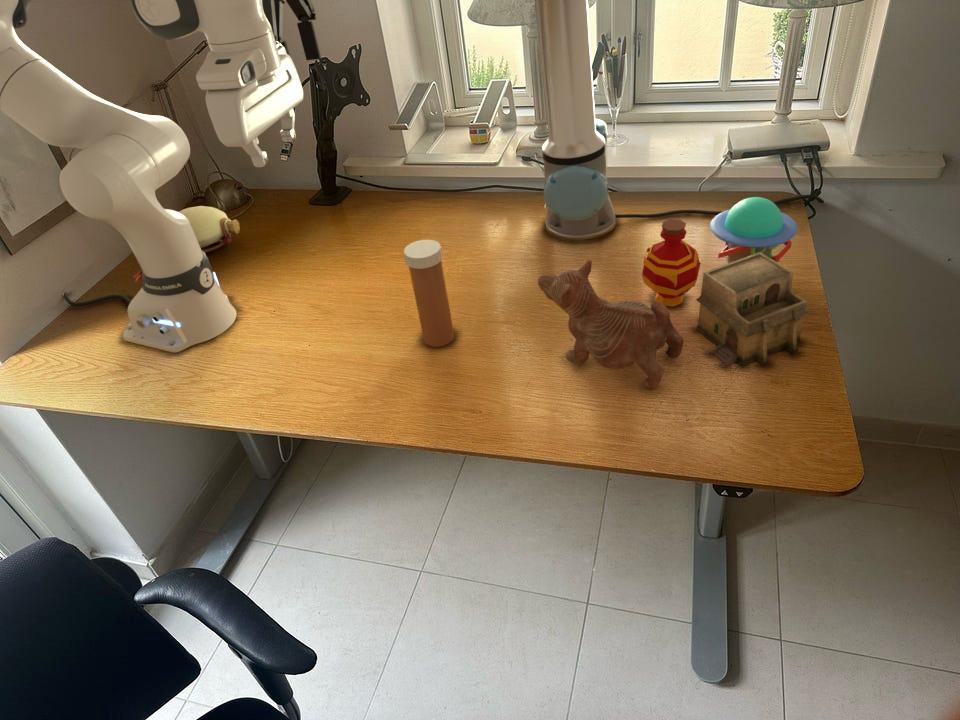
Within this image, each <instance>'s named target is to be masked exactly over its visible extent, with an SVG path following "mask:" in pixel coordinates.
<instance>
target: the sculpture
mask: <svg viewBox="0 0 960 720" xmlns="http://www.w3.org/2000/svg"><path fill="white" fill-rule="evenodd" d="M592 266H593V261H592V260H591V259H588V260H586V262H585V263H584V264H583V265H582V266H581V268H579V269H566V270H564V271H562V272H561V273H559V274H545V273H544V274H541V275H540V276H539V277H538V279H537V284H538V287H539V289H540V290H541V291H542V292H543V294H544V295H545V297H546V298H547V299H549V300H550V301H552V302H554V303H555V304H556V305H557V306H558V307H559V308H560V309H562V311H564V312H565V313H566V314H567V315H568V322H567V326H568V330H569V332H570V333H571V336H573V337H574V338H575V342H574V345H573V349H569V350H567V351H566V352H565V359H566V361H569V362H570V363H574V364H576V365H582V364H584V363H585V362H587V360H588V359H589V356H590V355H591V358H592V359H593V360H594V362H595V363H596V364H598V365H599V366H600V367H603V368H604V369H609V370H621V369H625V368H627V367H630V366H631V365H633V364H636V366H637V367H638V368H639V369H640V370H641V371H642V372H643V373H644V374H645V375H646V376H647V377H646V378H645V380H644V386H645V387H646V388H648V389H657V388H658V387H659V385H660V383H661V381H662V379H663V378H664V375H665V368H664V366H663V365H662V364H661V363H660V362H659V361H658V360H657V357H656V356H657V355H656V354H657V351H659V350H661V349H663V348H664V347H665V346H666V345H667V348H666V350H665V355H666V356H667V357H669V358H671V359H678V358H679V357H680V356H681V354H682V352H683V348H684V342H685V340H684V337H683V336H682V335H681V334H680V333H679V331H678V330H677V329H676V327H675V326H674V324H673V322H672V320H671V315H670V314H671V313H670V311H669V309H668V306H665V305H664V304H663V303H661V302H657V301H655V300H654V301H653V302H651V304H650V305H647V304H645V303H643V302H640V301H636V300H621V301H615V302H614V301H613V302H612V301H609V300H606V299H604V298H602V297H600V296H598V295H597V293H596V290H595V289H594V288H593V286H592V284H591V282H590V280H589V276H590V274H591V272H592Z"/></svg>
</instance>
